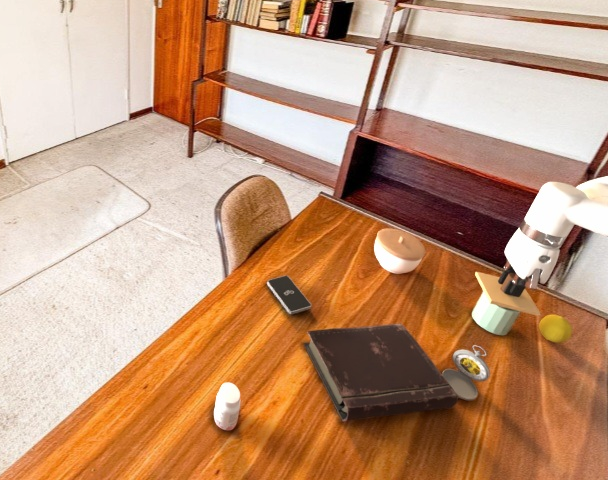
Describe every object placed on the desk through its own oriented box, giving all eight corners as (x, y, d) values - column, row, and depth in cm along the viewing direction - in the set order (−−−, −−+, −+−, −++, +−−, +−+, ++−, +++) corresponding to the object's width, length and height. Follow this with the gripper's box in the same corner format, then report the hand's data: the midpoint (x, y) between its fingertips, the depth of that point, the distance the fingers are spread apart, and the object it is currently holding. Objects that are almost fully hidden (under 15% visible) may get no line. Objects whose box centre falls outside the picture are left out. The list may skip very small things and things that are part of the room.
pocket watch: (445, 395, 87) (462, 365, 82) (434, 360, 94) (450, 331, 90) (489, 409, 84) (509, 380, 80) (475, 373, 91) (492, 344, 87)
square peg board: (519, 285, 103) (530, 268, 100) (539, 316, 94) (551, 298, 92) (474, 274, 106) (483, 257, 103) (489, 303, 97) (499, 285, 94)
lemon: (562, 339, 100) (577, 317, 97) (562, 354, 96) (578, 332, 93) (533, 325, 104) (547, 304, 100) (532, 339, 100) (547, 317, 96)
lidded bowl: (366, 268, 120) (376, 239, 115) (372, 244, 129) (382, 217, 125) (414, 288, 113) (426, 259, 109) (416, 261, 123) (428, 234, 118)
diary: (453, 412, 83) (461, 397, 81) (343, 426, 80) (350, 411, 78) (393, 332, 100) (399, 318, 98) (301, 341, 97) (305, 327, 95)
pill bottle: (237, 408, 82) (242, 383, 79) (236, 434, 78) (242, 408, 74) (214, 402, 83) (218, 377, 80) (212, 427, 79) (217, 402, 75)
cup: (501, 314, 106) (514, 291, 103) (514, 339, 100) (529, 316, 96) (467, 305, 109) (479, 283, 105) (477, 329, 102) (491, 306, 98)
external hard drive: (286, 280, 114) (287, 274, 113) (311, 311, 105) (312, 306, 104) (265, 285, 112) (266, 280, 111) (289, 318, 103) (291, 312, 102)
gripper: (583, 261, 83) (542, 320, 91) (543, 215, 97) (511, 270, 105) (540, 251, 85) (504, 310, 93) (507, 208, 99) (478, 262, 107)
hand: (508, 289), depth 99 cm, fingers closed on square peg board, 2 cm apart
